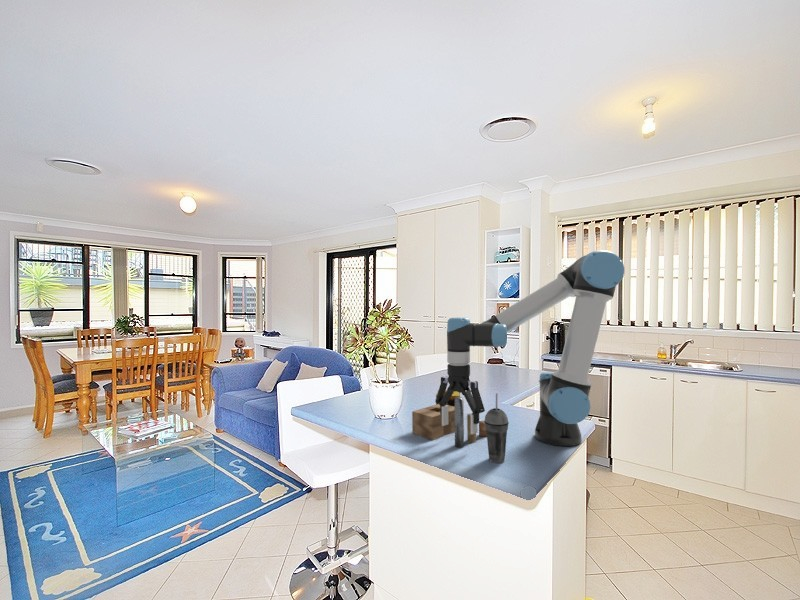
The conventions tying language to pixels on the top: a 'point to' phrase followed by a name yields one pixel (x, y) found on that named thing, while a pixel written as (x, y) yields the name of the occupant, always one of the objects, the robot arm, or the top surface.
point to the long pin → (459, 422)
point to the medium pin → (469, 436)
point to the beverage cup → (496, 433)
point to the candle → (451, 398)
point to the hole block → (432, 422)
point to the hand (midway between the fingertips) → (459, 429)
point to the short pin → (482, 429)
